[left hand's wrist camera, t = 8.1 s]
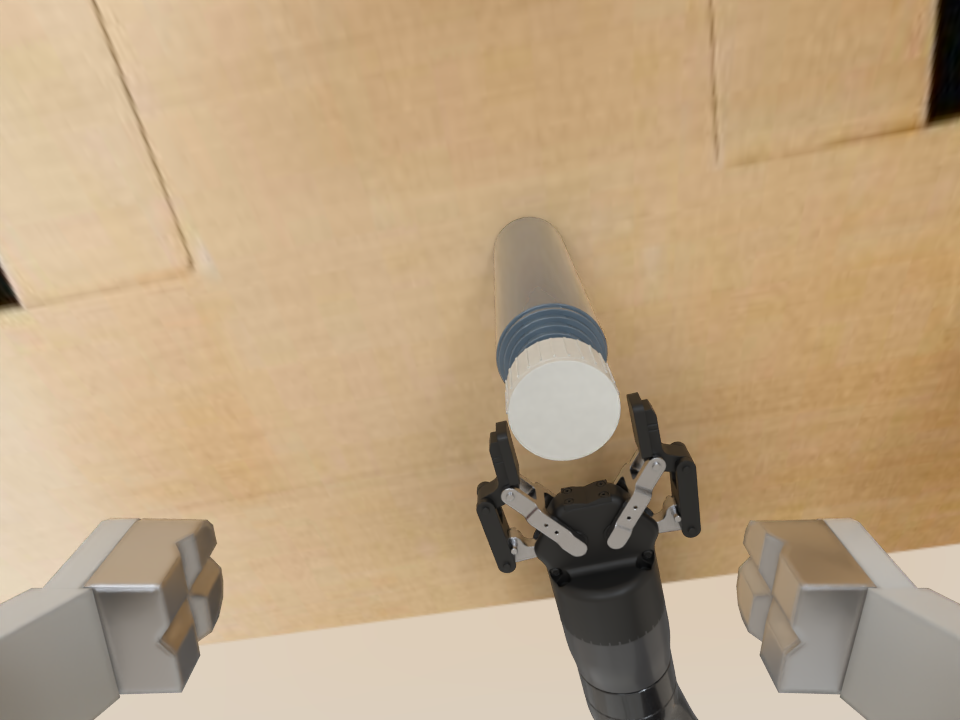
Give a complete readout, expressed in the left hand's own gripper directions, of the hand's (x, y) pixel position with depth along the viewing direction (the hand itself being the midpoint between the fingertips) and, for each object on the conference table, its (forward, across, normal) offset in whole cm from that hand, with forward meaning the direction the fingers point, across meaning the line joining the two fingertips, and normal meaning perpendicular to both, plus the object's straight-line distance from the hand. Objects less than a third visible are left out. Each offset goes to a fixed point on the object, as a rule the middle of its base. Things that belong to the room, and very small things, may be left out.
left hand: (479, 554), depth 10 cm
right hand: (+30, -6, +12) cm, 33 cm away
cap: (+14, -3, +4) cm, 14 cm away
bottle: (+37, -3, +4) cm, 37 cm away
